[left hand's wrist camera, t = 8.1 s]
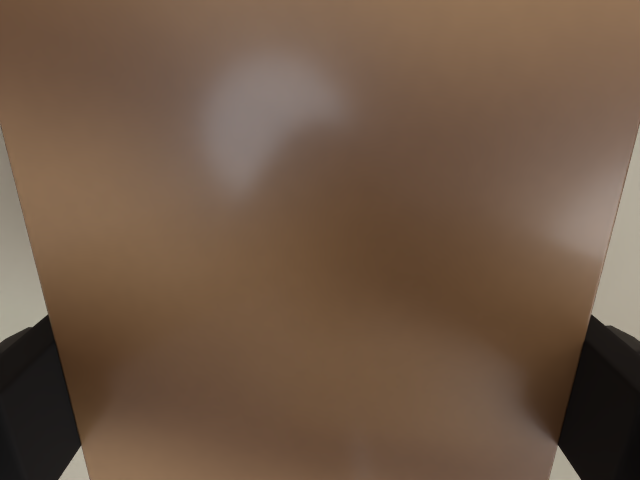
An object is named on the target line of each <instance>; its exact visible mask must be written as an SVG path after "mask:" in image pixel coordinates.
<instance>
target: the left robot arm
mask: <svg viewBox="0 0 640 480" xmlns="http://www.w3.org/2000/svg"><path fill="white" fill-rule="evenodd" d="M80 446H81V442H80V438H79V434H78V430H77V426H76V422H75V418H74V415H73V411H72V407H71V403H70V399H69V395H68V391H67V387H66V383H65V379H64V375H63V371H62V367H61V363H60V359H59V355H58V351H57V347H56V343H55V339H54V335H53V331H52V327H51V323H50V319H49V315H47V316H46V317H44V318H43V319H42V320H41V321H40V322H38V323H37V324H36V325H35V326H34V327H28V328H26V329H24V330H22V331H20V332H18V333H16V334H14V335H12V336H10V337H8V338H6V339H5V340H3V341H2V342H1V343H0V480H58V479H59V478H60V476H61V475H62V473H63V472H64V470H65V469H66V467H67V466H68V464H69V463H70V461H71V460H72V458H73V457H74V455H75V454H76V452H77V451H78V449H79V448H80ZM558 446H559V447H560V449H561V450H562V452H563V453H564V455H565V456H566V458H567V459H568V461H569V462H570V464H571V465H572V467H573V468H574V470H575V471H576V473H577V474H578V476H579V477H580V479H581V480H640V341H638V340H637V339H636V338H635V337H633V336H631V335H629V334H627V333H625V332H623V331H621V330H619V329H617V328H615V327H613V326H605V325H604V324H602V323H601V322H600V321H599V320H598V319H596V318H595V317H594V316H593V315H592V314H591V316H590V320H589V324H588V328H587V332H586V336H585V340H584V344H583V348H582V352H581V356H580V360H579V363H578V367H577V371H576V375H575V379H574V383H573V387H572V391H571V395H570V399H569V403H568V407H567V410H566V414H565V418H564V422H563V426H562V430H561V434H560V438H559V442H558Z"/></svg>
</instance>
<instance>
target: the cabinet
mask: <svg viewBox="0 0 640 480" xmlns="http://www.w3.org/2000/svg"><path fill="white" fill-rule="evenodd" d="M0 125H1V129H2V133H3V137H4V141H5V145H6V149H7V152H8V156H9V160H10V164H11V168H12V172H13V176H14V180H15V184H16V188H17V192H18V196H19V200H20V204H21V208H22V212H23V216H24V220H25V224H26V228H27V232H28V236H29V240H30V244H31V248H32V252H33V256H34V260H35V264H36V268H37V272H38V276H39V280H40V284H41V287H42V291H43V295H44V299H45V303H46V307H47V311H48V315H49V319H50V323H51V327H52V331H53V335H54V339H55V343H56V347H57V351H58V355H59V359H60V363H61V367H62V371H63V375H64V379H65V383H66V387H67V391H68V395H69V399H70V403H71V407H72V411H73V415H74V418H75V422H76V426H77V430H78V434H79V438H80V442H81V446H82V450H83V454H84V458H85V462H86V466H87V470H88V474H89V478H90V480H549V477H550V473H551V469H552V465H553V461H554V457H555V454H556V450H557V446H558V442H559V438H560V434H561V430H562V426H563V422H564V418H565V414H566V410H567V407H568V403H569V399H570V395H571V391H572V387H573V383H574V379H575V375H576V371H577V367H578V363H579V360H580V356H581V352H582V348H583V344H584V340H585V336H586V332H587V328H588V324H589V320H590V316H591V313H592V309H593V305H594V301H595V297H596V293H597V289H598V285H599V281H600V277H601V273H602V269H603V266H604V262H605V258H606V254H607V250H608V246H609V242H610V238H611V234H612V230H613V226H614V222H615V219H616V215H617V211H618V207H619V203H620V199H621V195H622V191H623V187H624V183H625V179H626V175H627V172H628V168H629V164H630V160H631V156H632V152H633V148H634V144H635V140H636V136H637V132H638V128H639V125H640V0H0Z"/></svg>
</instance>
